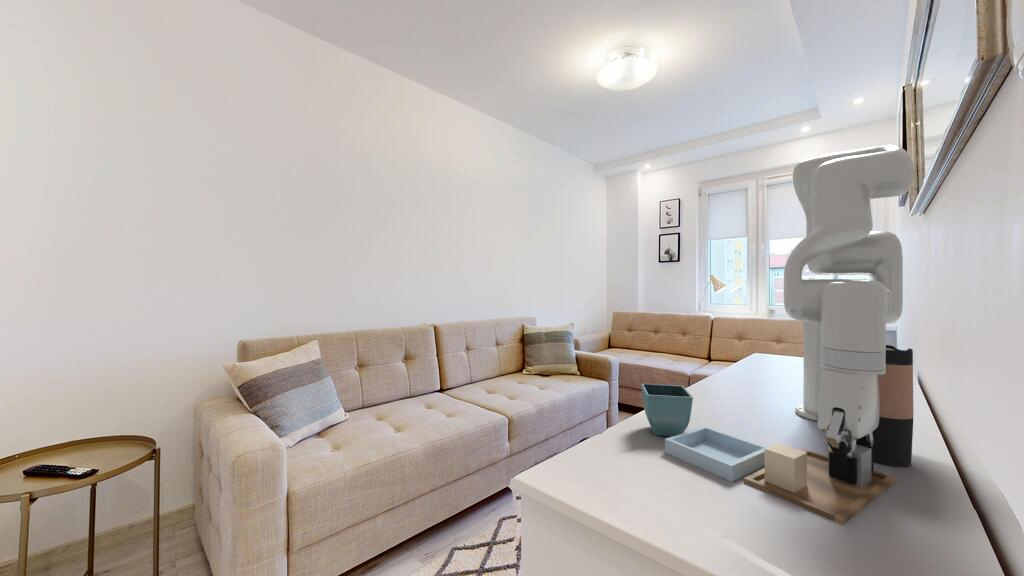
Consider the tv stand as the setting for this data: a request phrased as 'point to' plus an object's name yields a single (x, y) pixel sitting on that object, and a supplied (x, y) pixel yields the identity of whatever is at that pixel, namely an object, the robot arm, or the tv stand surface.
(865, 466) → the gray block
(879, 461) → the travel mug
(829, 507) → the walnut tray
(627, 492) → the tv stand surface
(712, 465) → the light blue tray
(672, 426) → the flower pot
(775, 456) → the cream rectangular block
